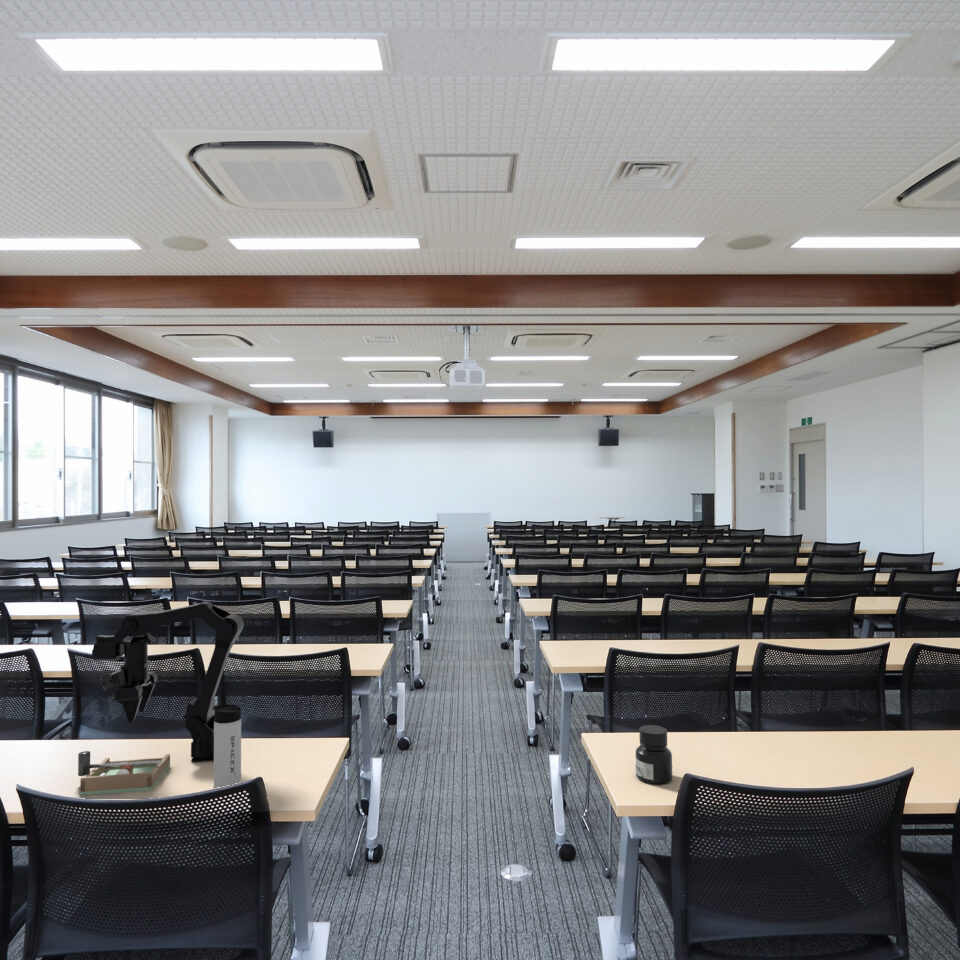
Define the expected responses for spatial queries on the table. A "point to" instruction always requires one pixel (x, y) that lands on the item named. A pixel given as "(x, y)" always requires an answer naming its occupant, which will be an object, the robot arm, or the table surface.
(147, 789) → the pitch
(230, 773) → the travel mug
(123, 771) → the ball
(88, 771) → the rubber mallet
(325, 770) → the table surface
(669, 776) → the ink bottle
